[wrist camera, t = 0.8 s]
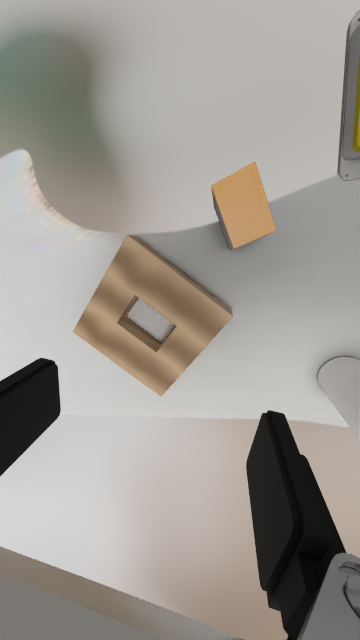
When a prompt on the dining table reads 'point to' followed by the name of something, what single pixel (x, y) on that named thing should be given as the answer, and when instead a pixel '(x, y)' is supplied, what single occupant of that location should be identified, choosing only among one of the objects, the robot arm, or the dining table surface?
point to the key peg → (242, 207)
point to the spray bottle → (343, 388)
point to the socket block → (167, 299)
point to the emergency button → (350, 106)
